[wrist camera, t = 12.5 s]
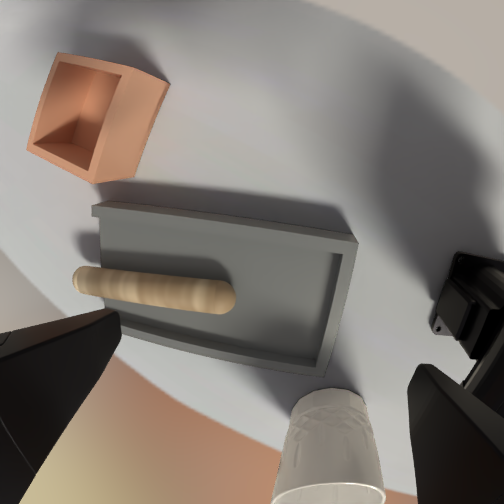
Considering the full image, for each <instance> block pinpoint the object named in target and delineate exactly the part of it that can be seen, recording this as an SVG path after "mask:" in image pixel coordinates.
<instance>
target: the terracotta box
mask: <svg viewBox="0 0 504 504" xmlns="http://www.w3.org/2000/svg"><path fill="white" fill-rule="evenodd" d="M169 86H170V84H169V83H167V82H165V81H163V80H161V79H158V78H156V77H154V76H152V75H150V74H147V73H145V72H143V71H141V70H138V69H136V68H133V67H129V66H125V65H121V64H117V63H112V62H108V61H103V60H98V59H94V58H88V57H83V56H78V55H72V54H66V53H59V52H58V53H57V55H56V57H55V60H54V62H53V65H52V67H51V70H50V73H49V75H48V78H47V81H46V84H45V86H44V89H43V92H42V95H41V98H40V101H39V104H38V108H37V111H36V114H35V118H34V121H33V125H32V129H31V132H30V136H29V140H28V144H27V149H26V150H27V151H29V152H31V153H33V154H35V155H37V156H39V157H41V158H43V159H45V160H47V161H48V162H50V163H52V164H54V165H56V166H58V167H60V168H62V169H64V170H66V171H68V172H70V173H72V174H74V175H76V176H78V177H80V178H81V179H83V180H85V181H87V182H89V183H91V184H96V183H102V182H107V181H113V180H119V179H125V178H131V177H134V176H135V173H136V170H137V167H138V164H139V161H140V159H141V156H142V153H143V150H144V148H145V145H146V142H147V139H148V137H149V134H150V132H151V129H152V127H153V124H154V122H155V119H156V117H157V114H158V112H159V109H160V107H161V105H162V102H163V100H164V98H165V95H166V93H167V91H168V88H169Z"/></svg>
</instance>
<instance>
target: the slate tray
mask: <svg viewBox="0 0 504 504" xmlns="http://www.w3.org/2000/svg"><path fill="white" fill-rule="evenodd" d="M92 217H99V218H100V251H101V268H107V269H116V270H124V271H133V272H142V273H151V274H160V275H170V276H180V277H190V278H200V279H210V280H221V281H225V282H227V283H229V284H230V285H231V286H232V287H233V288H234V290H235V293H236V302H235V305H234V307H233V308H232V309H231V310H230V311H229V312H227V313H224V314H211V313H203V312H195V311H187V310H180V309H173V308H166V307H159V306H152V305H146V304H139V303H133V302H127V301H121V300H115V299H109V298H104V304H105V308H109V309H112V310H116V311H117V312H118V313H119V315H120V323H121V332H122V334H124V335H128V336H131V337H134V338H138V339H141V340H145V341H148V342H152V343H155V344H159V345H162V346H166V347H170V348H174V349H178V350H181V351H185V352H189V353H194V354H198V355H202V356H206V357H211V358H215V359H220V360H224V361H229V362H234V363H239V364H244V365H249V366H254V367H259V368H265V369H271V370H276V371H282V372H289V373H295V374H302V375H309V376H316V377H324V376H325V373H326V369H327V366H328V363H329V360H330V356H331V353H332V349H333V346H334V342H335V339H336V335H337V332H338V328H339V325H340V321H341V317H342V313H343V309H344V305H345V301H346V297H347V293H348V289H349V285H350V281H351V276H352V272H353V268H354V263H355V258H356V254H357V249H358V244H359V243H358V241H357V240H356V238H355V236H354V235H353V234H347V233H341V232H335V231H329V230H323V229H317V228H310V227H304V226H298V225H291V224H285V223H278V222H271V221H265V220H258V219H251V218H244V217H237V216H229V215H222V214H215V213H207V212H200V211H192V210H184V209H176V208H168V207H159V206H151V205H142V204H134V203H124V202H115V201H106V202H102V203H99V204H95V205H92Z"/></svg>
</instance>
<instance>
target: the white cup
mask: <svg viewBox="0 0 504 504" xmlns="http://www.w3.org/2000/svg"><path fill="white" fill-rule="evenodd" d="M385 499H386V495H385V489H384V483H383V478H382V472H381V466H380V461H379V456H378V451H377V447H376V442H375V439H374V434H373V430H372V426H371V423H370V421H369V416H368V411H367V407H366V405H365V404H364V402H363V400H362V398H361V397H360V396H358V395H356V394H355V393H353V392H351V391H349V390H345V389H337V388H328V389H322V390H317V391H313V392H311V393H309V394H308V395H306V396H304V397H302V398H301V399H299V401H298V402H297V403H296V405H295V406H294V408H293V409H292V412H291V418H290V423H289V429H288V432H287V435H286V438H285V442H284V448H283V451H282V455H281V459H280V464H279V469H278V473H277V478H276V482H275V487H274V491H273V495H272V500H271V504H384V502H385Z"/></svg>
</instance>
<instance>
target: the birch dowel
mask: <svg viewBox="0 0 504 504" xmlns="http://www.w3.org/2000/svg"><path fill="white" fill-rule="evenodd" d="M73 285H74V287H75V289H76V290H77V291H79V292H80V293H83V294H87V295H93V296H98V297H104V298H109V299H115V300H121V301H127V302H133V303H139V304H146V305H152V306H159V307H166V308H173V309H180V310H187V311H195V312H203V313H211V314H224V313H227V312H229V311H230V310H231V309H232V308H233V307H234V305H235V302H236V293H235V290H234V288H233V287H232V286H231V285H230V284H229V283H227V282H225V281H221V280H210V279H200V278H190V277H180V276H170V275H160V274H151V273H142V272H133V271H124V270H116V269H107V268H99V267H91V266H82V267H79V268H78V269H77V270H76V271H75V272H74V274H73Z"/></svg>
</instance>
